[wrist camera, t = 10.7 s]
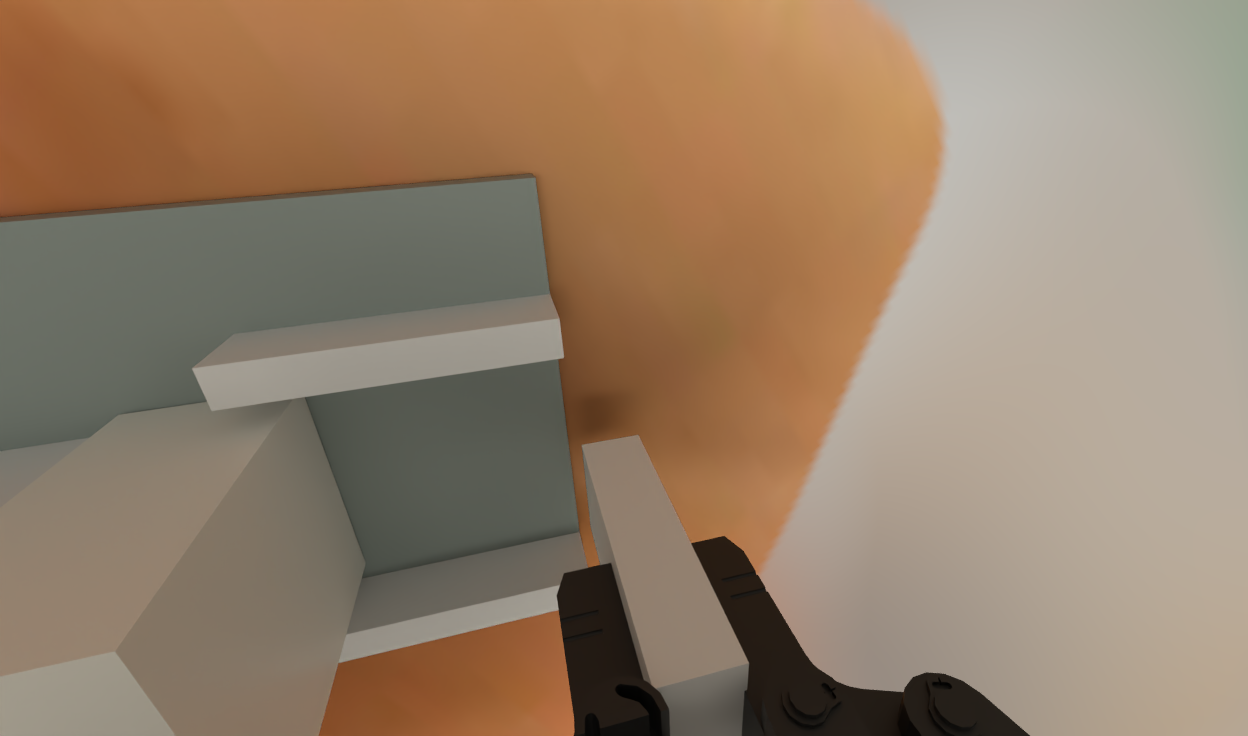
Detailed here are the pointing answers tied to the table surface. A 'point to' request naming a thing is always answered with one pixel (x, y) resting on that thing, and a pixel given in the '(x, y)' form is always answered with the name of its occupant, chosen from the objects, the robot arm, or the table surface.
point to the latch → (178, 579)
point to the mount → (325, 370)
